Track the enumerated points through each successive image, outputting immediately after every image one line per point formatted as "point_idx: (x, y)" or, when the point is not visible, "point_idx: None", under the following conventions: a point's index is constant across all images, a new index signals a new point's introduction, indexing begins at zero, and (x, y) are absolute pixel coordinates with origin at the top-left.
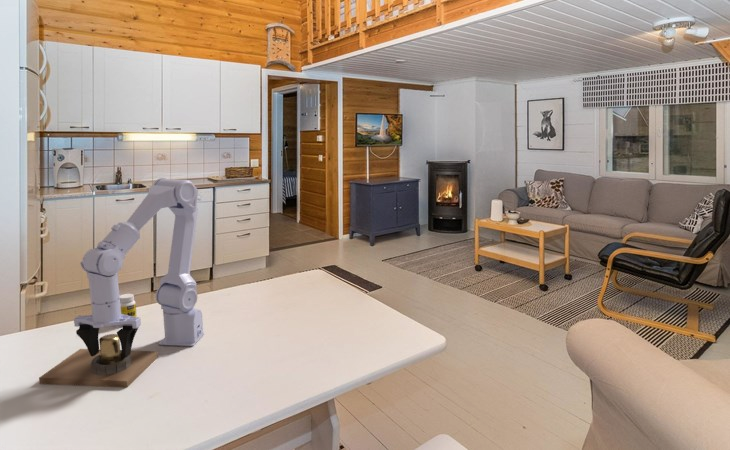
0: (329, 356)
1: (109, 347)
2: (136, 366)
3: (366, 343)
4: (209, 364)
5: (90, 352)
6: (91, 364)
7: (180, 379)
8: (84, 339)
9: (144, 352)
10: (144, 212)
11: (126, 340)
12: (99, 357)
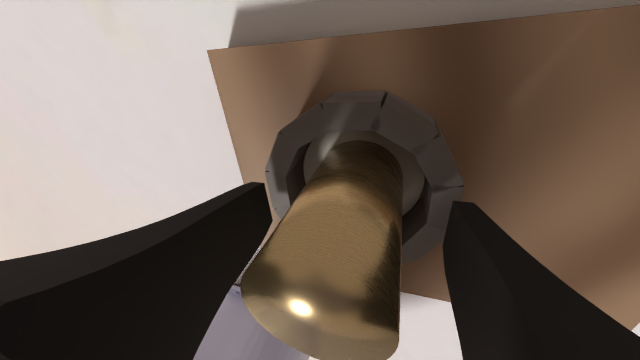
0: (6, 215)
1: (291, 218)
2: (259, 173)
3: (11, 246)
4: (132, 200)
5: (477, 215)
6: (435, 130)
7: (125, 124)
8: (610, 345)
9: None
10: None
11: (107, 239)
12: (428, 213)
